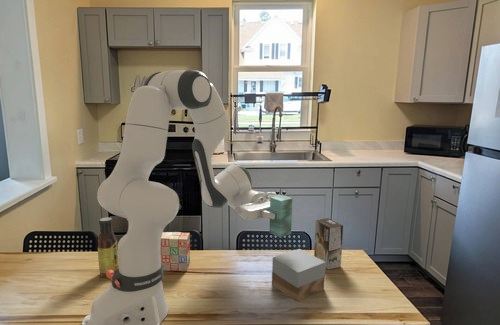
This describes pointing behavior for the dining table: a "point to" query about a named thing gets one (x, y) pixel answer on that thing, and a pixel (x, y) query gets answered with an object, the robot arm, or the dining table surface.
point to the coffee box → (328, 242)
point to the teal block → (281, 215)
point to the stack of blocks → (175, 251)
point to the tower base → (297, 292)
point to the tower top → (298, 267)
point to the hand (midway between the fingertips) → (282, 214)
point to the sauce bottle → (107, 247)
